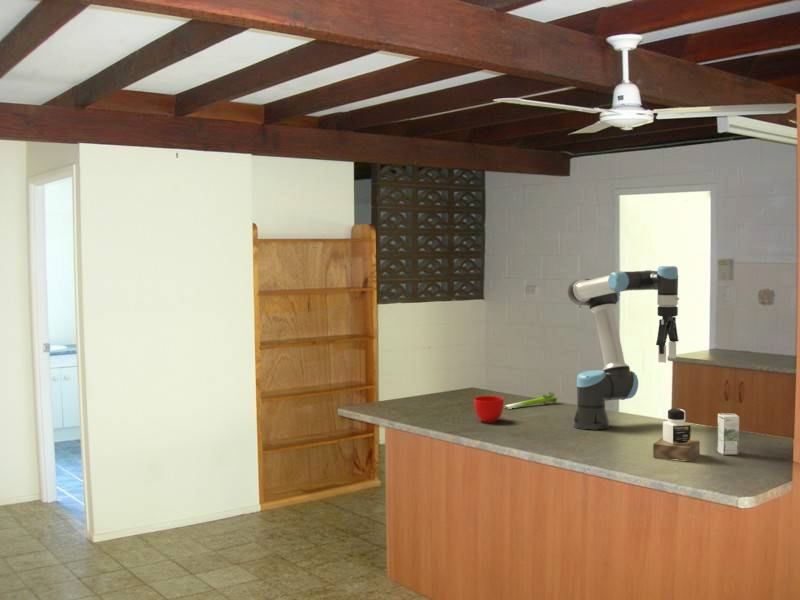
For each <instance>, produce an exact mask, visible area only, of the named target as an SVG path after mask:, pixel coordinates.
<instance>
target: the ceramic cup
mask: <svg viewBox="0 0 800 600" xmlns="http://www.w3.org/2000/svg"><path fill="white" fill-rule="evenodd" d="M504 402H505V400H504V397H502V396H497V395H495V396H493V395H483V396H482V395H481V396H475V397H474V398H473V403H474V410H475V413H476V416H477V417H478V419H480V420H481V422H482V421H483V423H496V422H497V421H498V420H499V419H500V418H501V416H502V413H503V411H504V408H503V407H504ZM495 421H496V422H495Z"/></svg>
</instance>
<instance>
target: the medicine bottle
mask: <svg viewBox="0 0 800 600" xmlns="http://www.w3.org/2000/svg"><path fill="white" fill-rule="evenodd" d="M662 438H663V441H666V442H668V443H670V444H673V445H675V444H687V443H690V440H691V424H690V423H688V422H686V411H685V410H684V409H682V408H669V409H668V410H667V420H666V421H663V422H662Z"/></svg>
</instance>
